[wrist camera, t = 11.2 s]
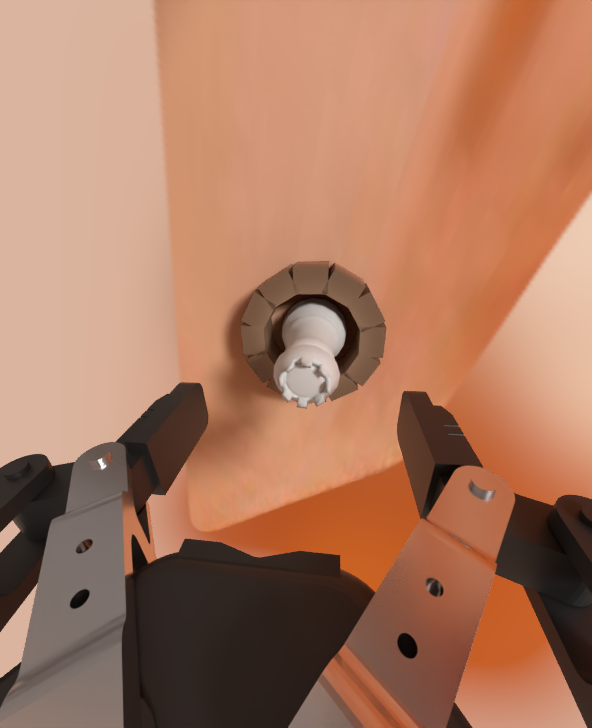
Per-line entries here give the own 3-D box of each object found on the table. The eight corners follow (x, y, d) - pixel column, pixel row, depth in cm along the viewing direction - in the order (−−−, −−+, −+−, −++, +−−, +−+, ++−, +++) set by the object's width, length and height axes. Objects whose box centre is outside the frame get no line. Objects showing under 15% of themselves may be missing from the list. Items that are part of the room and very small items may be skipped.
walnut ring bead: (244, 262, 19) (232, 268, 16) (385, 260, 18) (393, 265, 15) (257, 381, 23) (249, 398, 20) (373, 385, 22) (377, 403, 19)
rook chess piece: (302, 365, 22) (286, 435, 14) (272, 314, 20) (238, 365, 13) (356, 340, 20) (369, 406, 13) (329, 284, 19) (326, 323, 12)
